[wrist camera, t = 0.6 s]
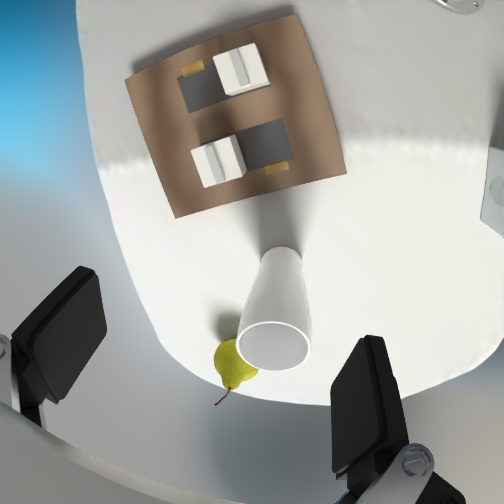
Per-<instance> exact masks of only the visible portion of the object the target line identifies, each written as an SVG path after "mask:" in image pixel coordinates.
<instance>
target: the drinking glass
mask: <svg viewBox="0 0 504 504" xmlns="http://www.w3.org/2000/svg"><path fill="white" fill-rule="evenodd" d="M311 345H312V321H311V312H310V306H309V301H308V295H307V290H306V285H305V280H304V274H303V264H302V260H301V258H300V256H299V255H298V253H297V252H295V251H294V250H293V249H291V248H288V247H274V248H272V249H270V250H268V251H267V252H266V253H265V254H264V255H263V257H262V259H261V262H260V267H259V270H258V272H257V275H256V277H255V280H254V283H253V285H252V288H251V290H250V293H249V295H248V298H247V300H246V303H245V305H244V308H243V311H242V315H241V318H240V322H239V327H238V332H237V338H236V349H237V352H238V354H239V355H240V357H241V358H242V359H243V360H244V361H245V362H246V363H248V364H249V365H251V366H253V367H255V368H257V369H260V370H264V371H270V372H281V371H287V370H291V369H294V368H296V367H298V366H300V365H301V364H302V363H304V362H305V361H306V360H307V358H308V357H309V355H310V352H311V347H312V346H311Z"/></svg>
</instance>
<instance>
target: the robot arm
mask: <svg viewBox="0 0 504 504" xmlns="http://www.w3.org/2000/svg"><path fill="white" fill-rule="evenodd" d="M433 1H434V2H436V3H437V4H439V5H441V6H442V7H444V8H446V9H449V10H451V11H454V12H458V13H463V14H469V13H473V12H475V11H477V10H479V9H480V8H481V7H482V6H483V4H484V1H485V0H433ZM106 333H107V325H106V320H105V315H104V310H103V304H102V298H101V293H100V285H99V278H98V276H97V275H96V274H95V271H94V270H93V269H90V268H87V267H84V266H79V267H77V268H76V269H75V270H74V271H73V272H72V273H71V274H70V275H69V276H68V277H67V278H65V279H64V280H63V281H62V282H61V283H60V284H59V285H58V286H57V287H56V288H55V289H54V290H53V291H52V292H51V293H50V294H49V295H48V296H47V297H46V298H45V299H44V300H43V301H42V302H41V303H40V304H39V305H38V306H37V307H36V308H35V309H34V310H33V311H32V312H31V314H30V315H29V316H28V317H27V318H26V319H25V320H24V321H23V322H22V323H21V324H20V325H19V327H18V328H17V329H16V330H15V331H14V332H13V333H12V334H11V336H12V339H11V340H10V341H9V338H8V337H6V336H5V335H3V334H0V504H244V503H238V502H231V501H226V500H222V499H217V498H212V497H208V496H203V495H199V494H195V493H191V492H187V491H183V490H180V489H177V488H173V487H170V486H167V485H164V484H160V483H157V482H154V481H152V480H149V479H146V478H143V477H140V476H138V475H135V474H132V473H130V472H127V471H125V470H123V469H120V468H118V467H115V466H113V465H111V464H109V463H106V462H104V461H102V460H100V459H98V458H96V457H93V456H91V455H89V454H87V453H85V452H83V451H81V450H79V449H78V448H76V447H74V446H72V445H70V444H68V443H67V442H65V441H63V440H61V439H59V438H58V437H56V436H54V435H53V434H51V433H50V432H48V431H47V426H46V421H45V415H44V409H43V401H44V399H45V398H47V399H48V400H50V401H52V402H53V403H55V404H58V402H59V400H60V399H61V400H62V399H64V398H65V396H66V395H67V393H68V392H69V390H70V389H71V387H72V386H73V384H74V382H75V381H76V379H77V378H78V376H79V375H80V373H81V371H82V370H83V368H84V367H85V365H86V364H87V362H88V361H89V359H90V358H91V356H92V355H93V353H94V352H95V350H96V349H97V347H98V346H99V344H100V343H101V342H102V340H103V339H104V337H105V335H106ZM330 396H331V423H332V471H333V473H336V480H347V488H348V489H347V490H346V491H345V492H344V493H343V494H342V495H341V497H340V498H339V499H338V500H337V501H336V502H335V503H334V504H466V501H465V498H464V496H463V495H462V494H461V492H459V491H458V490H457V489H455V488H454V487H453V486H452V485H450V484H449V483H448V482H446V481H445V480H444V479H443V478H441V477H440V476H439V475H438V474H436V473H435V472H434V471H433V469H434V458H433V455H432V453H431V452H430V450H429V449H428V448H427V447H425V446H424V445H422V444H418V443H412V444H409V439H408V433H407V428H406V423H405V417H404V412H403V408H402V403H401V398H400V394H399V390H398V385H397V381H396V379H395V377H394V376H393V372H392V368H391V364H390V361H389V357H388V353H387V349H386V345H385V342H384V339H383V338H382V337H379V336H373V335H366V336H365V337H364V338H360V339H359V340H358V342H357V344H356V346H355V347H354V349H353V351H352V353H351V354H350V356H349V358H348V359H347V361H346V363H345V364H344V366H343V368H342V369H341V371H340V372H339V374H338V376H337V377H336V379H335V380H334V382H333V384H332V386H331V390H330Z"/></svg>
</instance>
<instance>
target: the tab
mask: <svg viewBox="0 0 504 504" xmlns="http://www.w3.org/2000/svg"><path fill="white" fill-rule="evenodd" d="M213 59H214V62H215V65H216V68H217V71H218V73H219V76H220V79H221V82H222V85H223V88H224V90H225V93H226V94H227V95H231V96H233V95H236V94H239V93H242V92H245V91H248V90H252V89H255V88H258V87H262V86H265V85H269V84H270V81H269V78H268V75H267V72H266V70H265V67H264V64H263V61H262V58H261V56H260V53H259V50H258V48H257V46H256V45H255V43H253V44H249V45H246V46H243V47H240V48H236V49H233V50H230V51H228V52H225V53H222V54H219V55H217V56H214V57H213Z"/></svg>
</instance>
